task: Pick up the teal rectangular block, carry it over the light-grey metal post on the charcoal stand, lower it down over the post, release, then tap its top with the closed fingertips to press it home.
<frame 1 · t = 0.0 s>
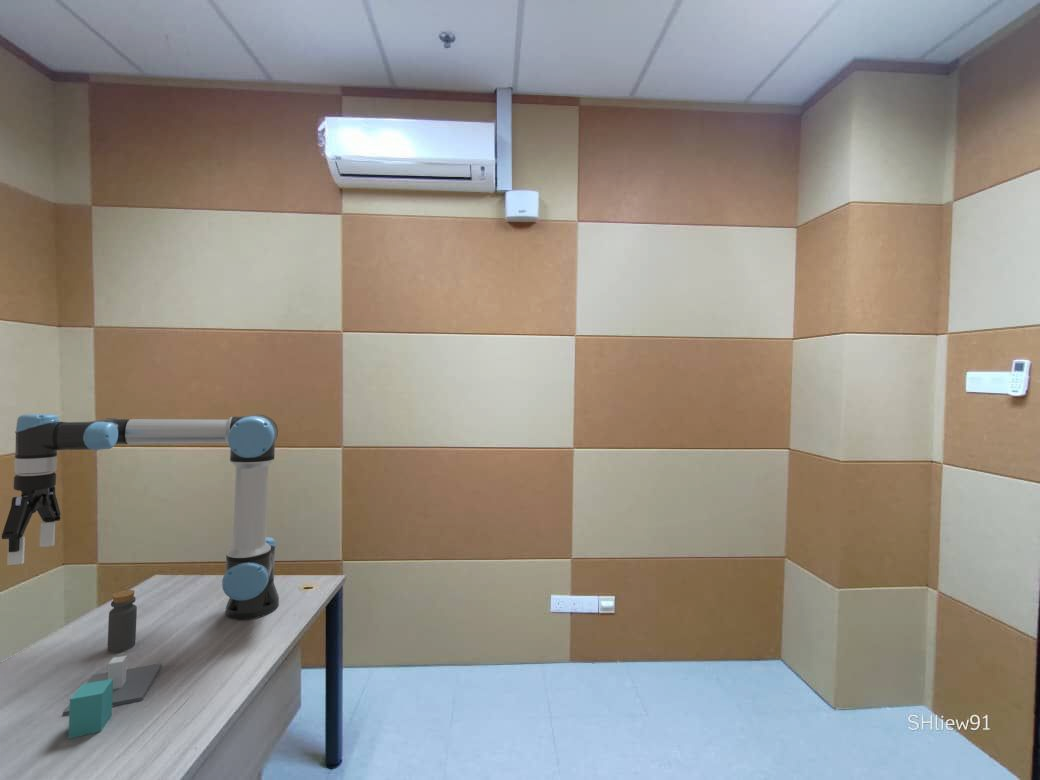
hand: (32, 554, 117), 28 cm above the table, fingers open, 13 cm apart
teal rectangular block: (90, 726, 96), on the table
stand: (116, 688, 108), on the table
bottle: (121, 648, 125), on the table
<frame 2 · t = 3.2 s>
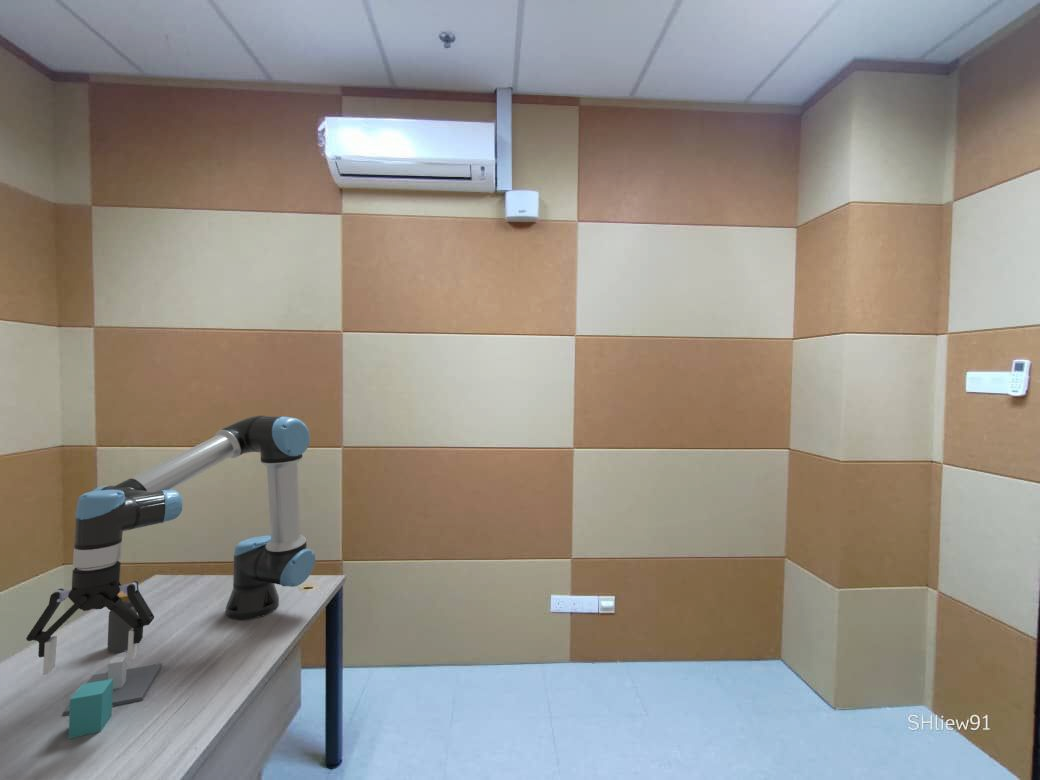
hand: (91, 664, 96), 13 cm above the table, fingers open, 13 cm apart
nothing on the table moved.
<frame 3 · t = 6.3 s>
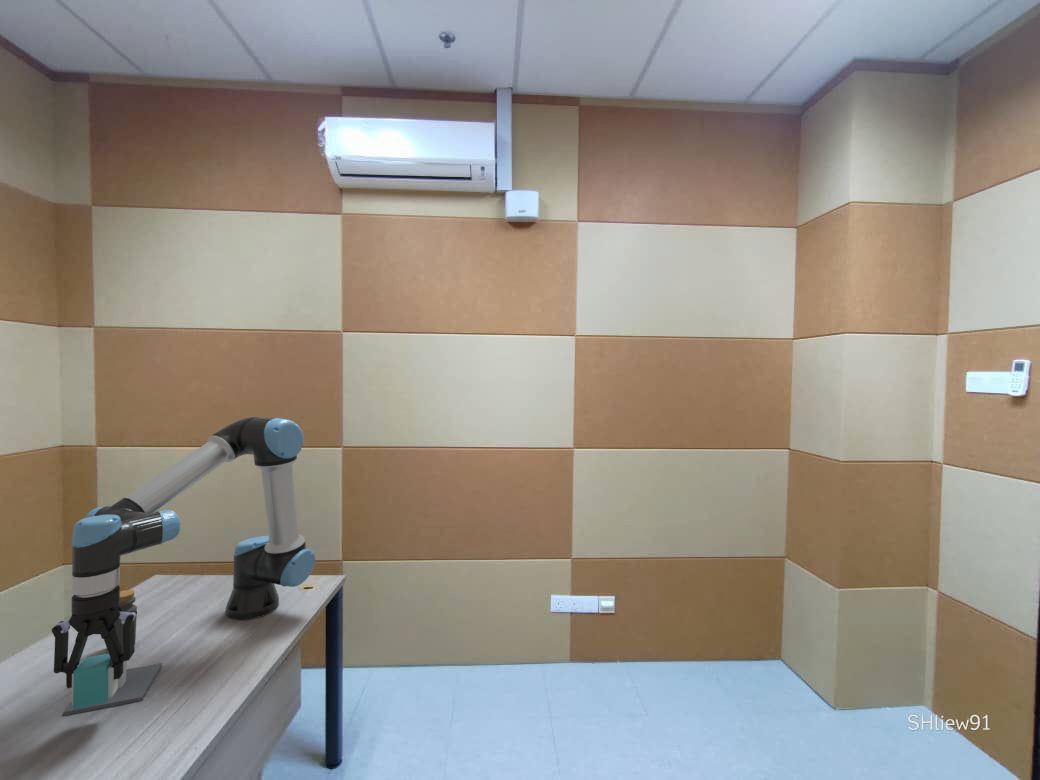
hand: (95, 696, 97), 6 cm above the table, fingers closed on teal rectangular block, 5 cm apart
teal rectangular block: (95, 698, 97), point 6 cm above the table, touching gripper
everything else where it was.
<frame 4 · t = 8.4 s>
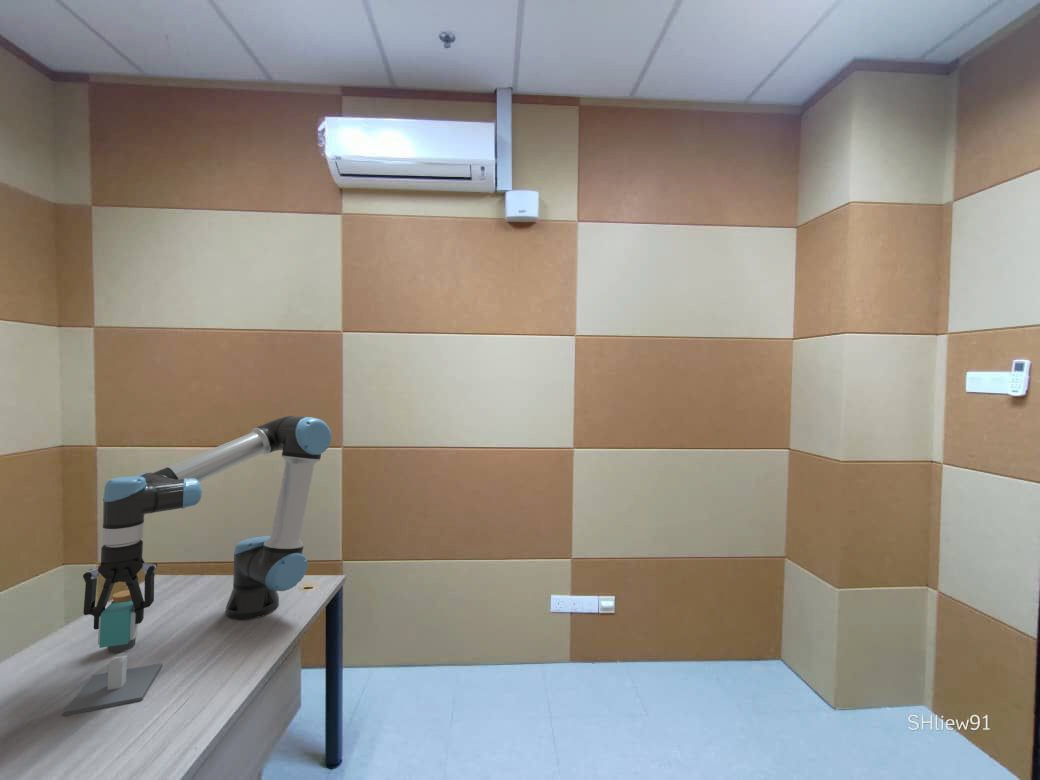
hand: (118, 638, 108), 12 cm above the table, fingers closed on teal rectangular block, 5 cm apart
teal rectangular block: (118, 640, 108), point 12 cm above the table, touching gripper
everything else where it was.
when the fingers open (1 cm above the table, at t = 10.9 s): teal rectangular block stays where it is, resting on stand.
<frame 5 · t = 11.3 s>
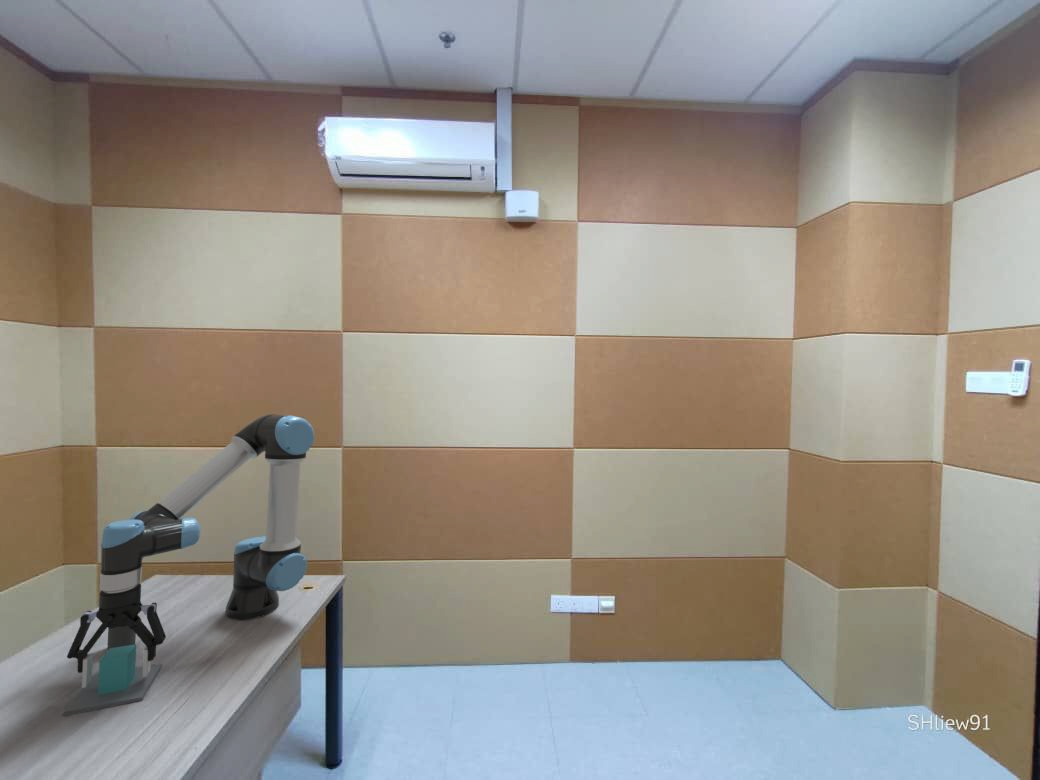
hand: (117, 678, 108), 2 cm above the table, fingers open, 10 cm apart
teal rectangular block: (117, 685, 108), point 1 cm above the table, touching stand
everything else where it was.
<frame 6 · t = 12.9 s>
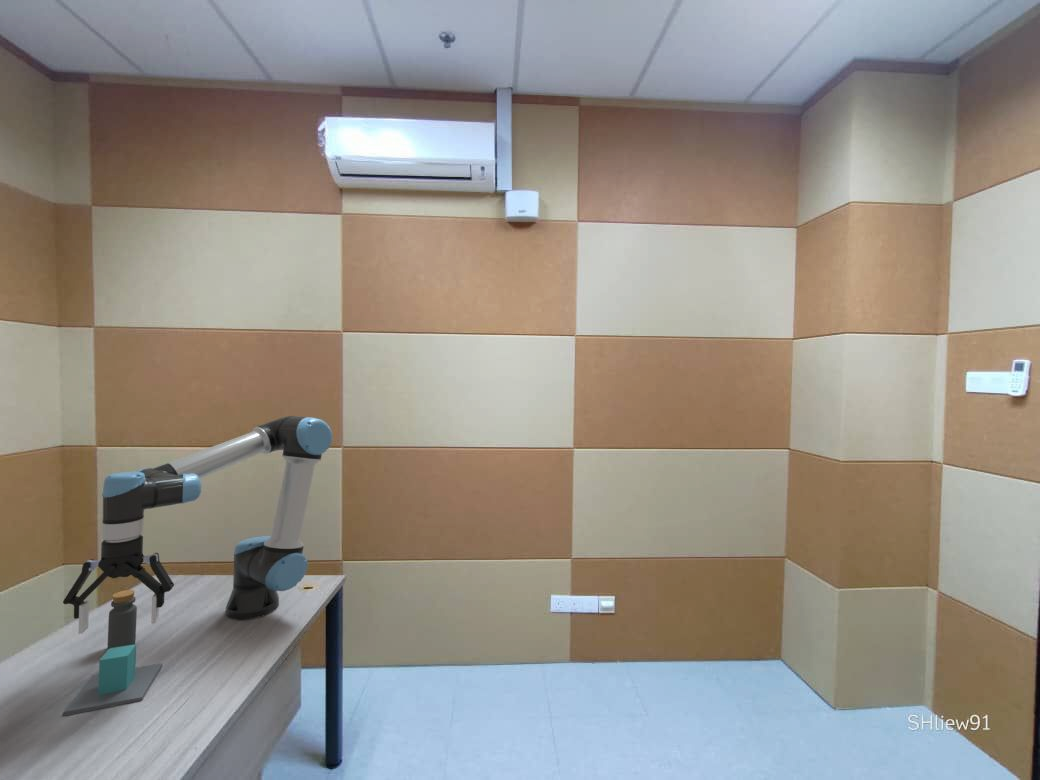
hand: (120, 625, 108), 15 cm above the table, fingers open, 13 cm apart
nothing on the table moved.
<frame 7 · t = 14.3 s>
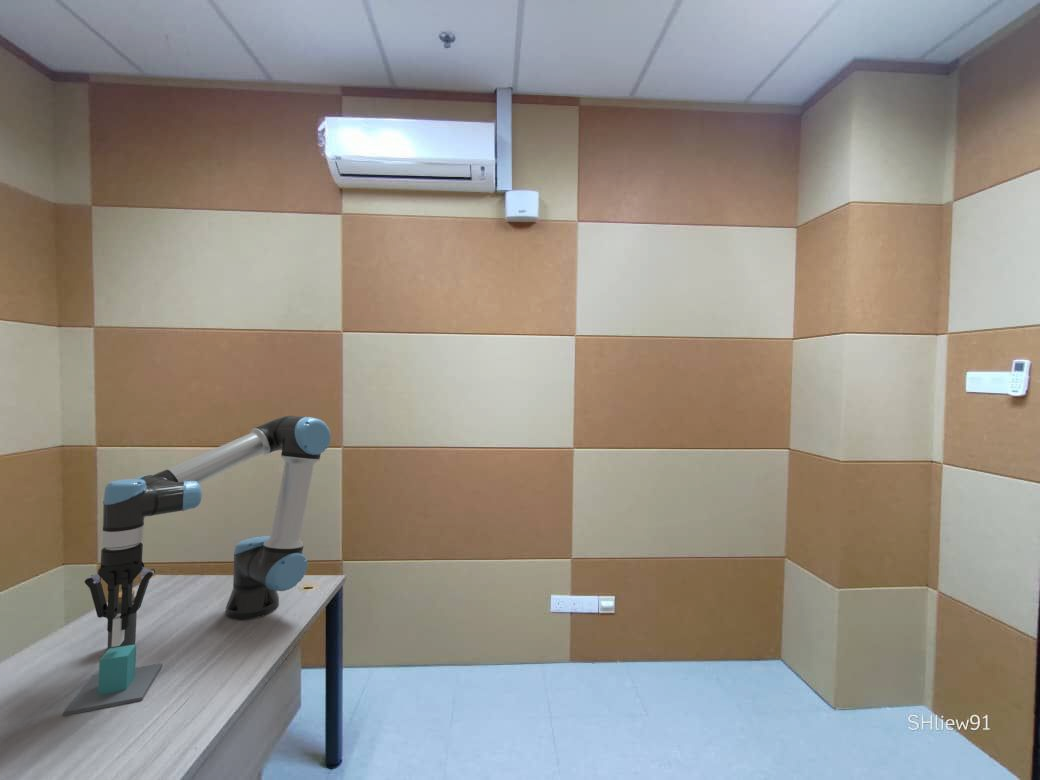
hand: (117, 643, 108), 11 cm above the table, fingers closed
nothing on the table moved.
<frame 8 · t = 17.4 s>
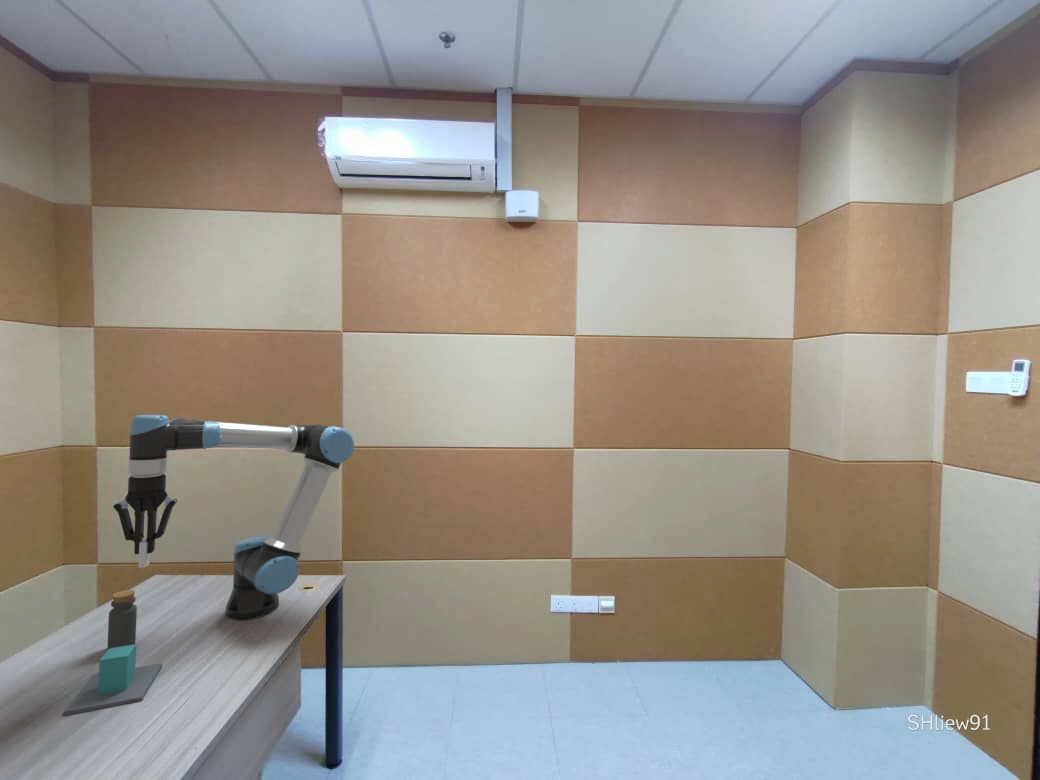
hand: (144, 565, 116), 26 cm above the table, fingers closed
nothing on the table moved.
at the end: teal rectangular block 0.0 cm from the stand (horizontally); teal rectangular block point 0.8 cm above the table; teal rectangular block tilted 0° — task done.
